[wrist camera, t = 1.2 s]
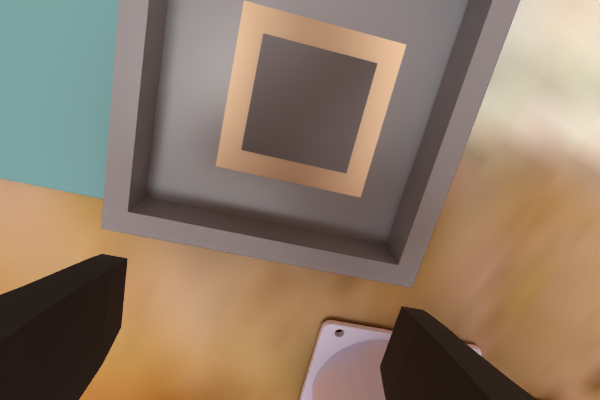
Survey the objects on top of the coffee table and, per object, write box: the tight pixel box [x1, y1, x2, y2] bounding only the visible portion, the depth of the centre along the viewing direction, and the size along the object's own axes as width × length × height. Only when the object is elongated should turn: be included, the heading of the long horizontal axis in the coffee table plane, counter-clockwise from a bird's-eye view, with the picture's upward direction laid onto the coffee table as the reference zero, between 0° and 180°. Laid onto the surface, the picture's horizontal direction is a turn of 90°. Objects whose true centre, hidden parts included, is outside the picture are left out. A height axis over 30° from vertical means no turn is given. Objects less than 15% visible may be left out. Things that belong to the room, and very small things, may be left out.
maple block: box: [216, 1, 406, 198], centre depth 13 cm, size 4×4×6 cm
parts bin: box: [101, 0, 520, 288], centre depth 15 cm, size 14×14×2 cm
